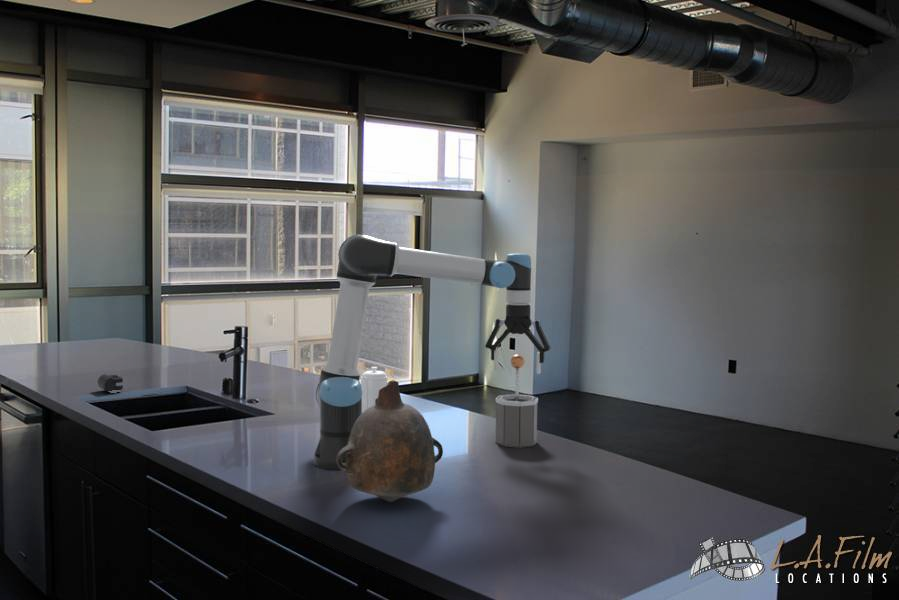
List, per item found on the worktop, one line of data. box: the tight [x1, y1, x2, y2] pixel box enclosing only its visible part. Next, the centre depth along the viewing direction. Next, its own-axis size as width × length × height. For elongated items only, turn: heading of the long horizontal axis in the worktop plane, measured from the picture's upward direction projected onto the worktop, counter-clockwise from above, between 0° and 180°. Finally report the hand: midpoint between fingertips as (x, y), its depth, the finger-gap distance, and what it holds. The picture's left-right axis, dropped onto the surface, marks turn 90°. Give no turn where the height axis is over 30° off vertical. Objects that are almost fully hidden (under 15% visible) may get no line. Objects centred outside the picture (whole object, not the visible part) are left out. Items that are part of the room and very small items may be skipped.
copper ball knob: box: [509, 354, 525, 401], centre depth 257 cm, size 8×8×21 cm
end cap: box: [97, 373, 124, 392], centre depth 335 cm, size 10×7×7 cm
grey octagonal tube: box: [495, 393, 539, 449], centre depth 259 cm, size 16×12×14 cm
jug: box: [336, 379, 444, 503], centre depth 198 cm, size 24×21×30 cm
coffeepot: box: [360, 366, 389, 413], centre depth 286 cm, size 11×25×19 cm, turn 168°
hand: (517, 372), depth 256 cm, fingers open, 13 cm apart
